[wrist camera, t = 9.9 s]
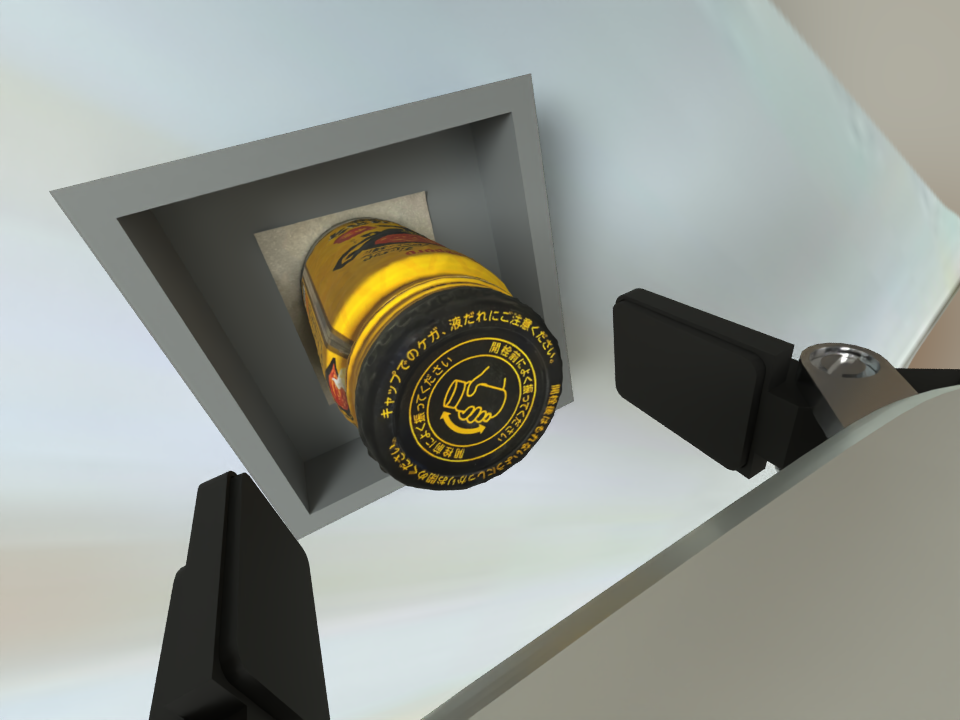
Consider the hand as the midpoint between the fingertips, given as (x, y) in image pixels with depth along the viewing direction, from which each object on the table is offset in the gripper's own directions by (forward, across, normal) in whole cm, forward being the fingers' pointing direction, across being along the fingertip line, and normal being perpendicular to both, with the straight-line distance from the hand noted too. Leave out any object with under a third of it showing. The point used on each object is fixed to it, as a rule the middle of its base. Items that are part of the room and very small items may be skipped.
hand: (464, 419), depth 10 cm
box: (+12, 0, +1) cm, 12 cm away
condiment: (+12, 0, +1) cm, 12 cm away
